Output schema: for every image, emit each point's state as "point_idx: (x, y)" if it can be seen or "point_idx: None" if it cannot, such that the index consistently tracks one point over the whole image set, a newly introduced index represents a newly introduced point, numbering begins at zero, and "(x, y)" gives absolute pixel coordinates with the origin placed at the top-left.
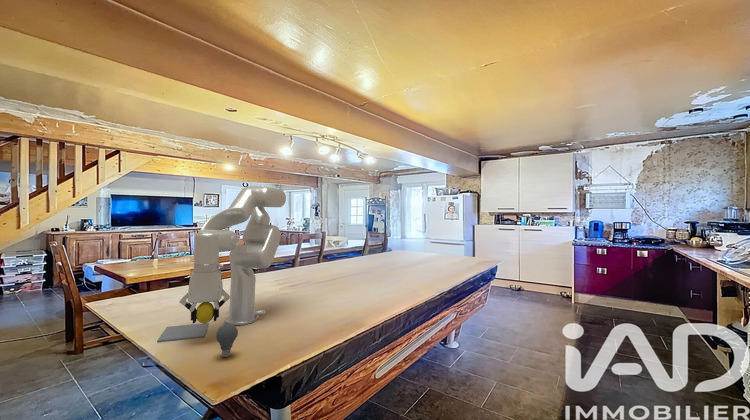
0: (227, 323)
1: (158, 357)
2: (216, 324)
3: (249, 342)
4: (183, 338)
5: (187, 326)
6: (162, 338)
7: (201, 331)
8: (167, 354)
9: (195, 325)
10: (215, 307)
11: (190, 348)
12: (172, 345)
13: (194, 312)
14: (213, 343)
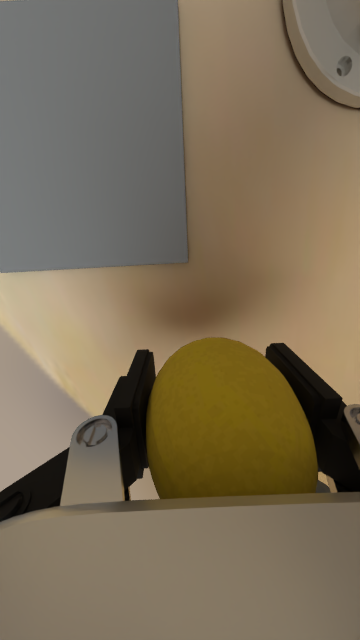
0: (298, 54)
1: (82, 404)
2: (227, 26)
3: (352, 361)
4: (104, 266)
5: (56, 50)
6: (10, 249)
7: (164, 192)
8: (100, 390)
9: (101, 41)
10: (331, 490)
11: (159, 362)
12: (85, 319)
13: (142, 473)
14: (230, 338)
